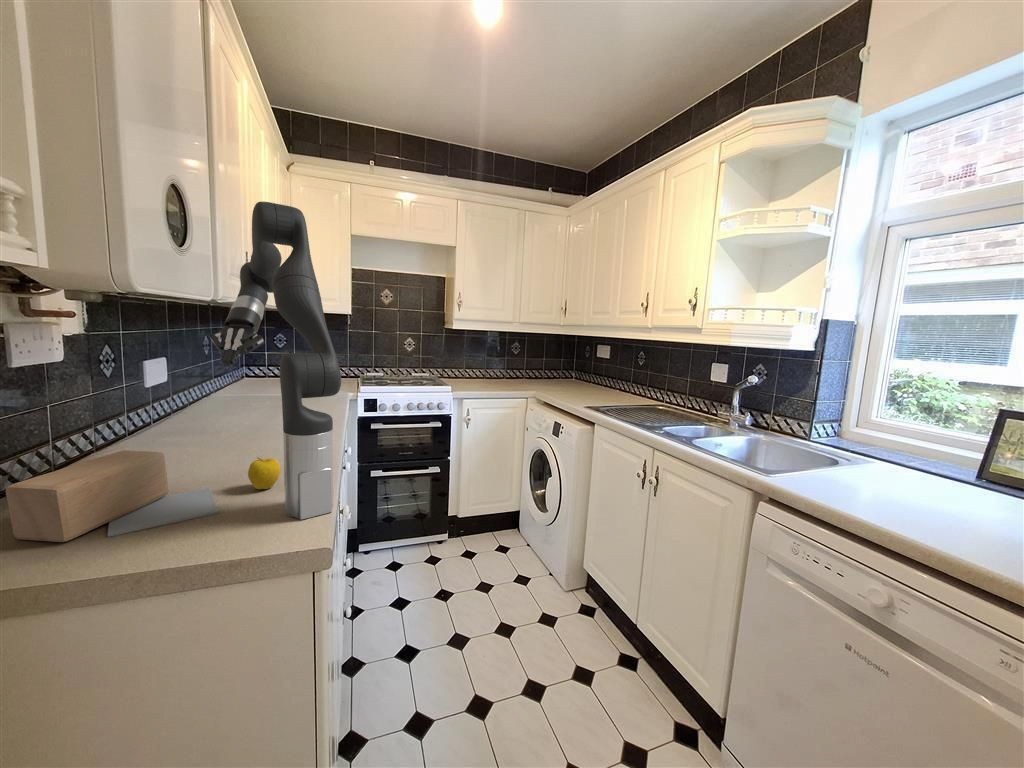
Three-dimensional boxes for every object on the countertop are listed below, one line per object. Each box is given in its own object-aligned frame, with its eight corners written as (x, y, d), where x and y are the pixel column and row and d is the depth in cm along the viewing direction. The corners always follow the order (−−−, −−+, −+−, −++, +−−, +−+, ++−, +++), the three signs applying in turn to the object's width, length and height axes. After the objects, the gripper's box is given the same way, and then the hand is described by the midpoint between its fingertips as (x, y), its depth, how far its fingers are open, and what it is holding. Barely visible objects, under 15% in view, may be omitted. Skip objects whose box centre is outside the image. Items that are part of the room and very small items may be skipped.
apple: (242, 492, 93) (240, 459, 92) (262, 482, 99) (261, 450, 98) (267, 495, 92) (266, 461, 91) (286, 484, 98) (285, 453, 97)
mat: (218, 512, 83) (218, 511, 83) (107, 537, 72) (107, 534, 72) (208, 489, 94) (208, 487, 94) (111, 507, 83) (111, 505, 83)
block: (166, 450, 87) (55, 489, 67) (171, 494, 88) (64, 545, 69) (123, 448, 87) (0, 485, 68) (128, 492, 89) (10, 541, 69)
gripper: (213, 304, 108) (190, 353, 97) (268, 307, 110) (251, 355, 100) (223, 324, 113) (203, 373, 103) (275, 326, 116) (260, 374, 106)
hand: (227, 364), depth 102 cm, fingers closed
